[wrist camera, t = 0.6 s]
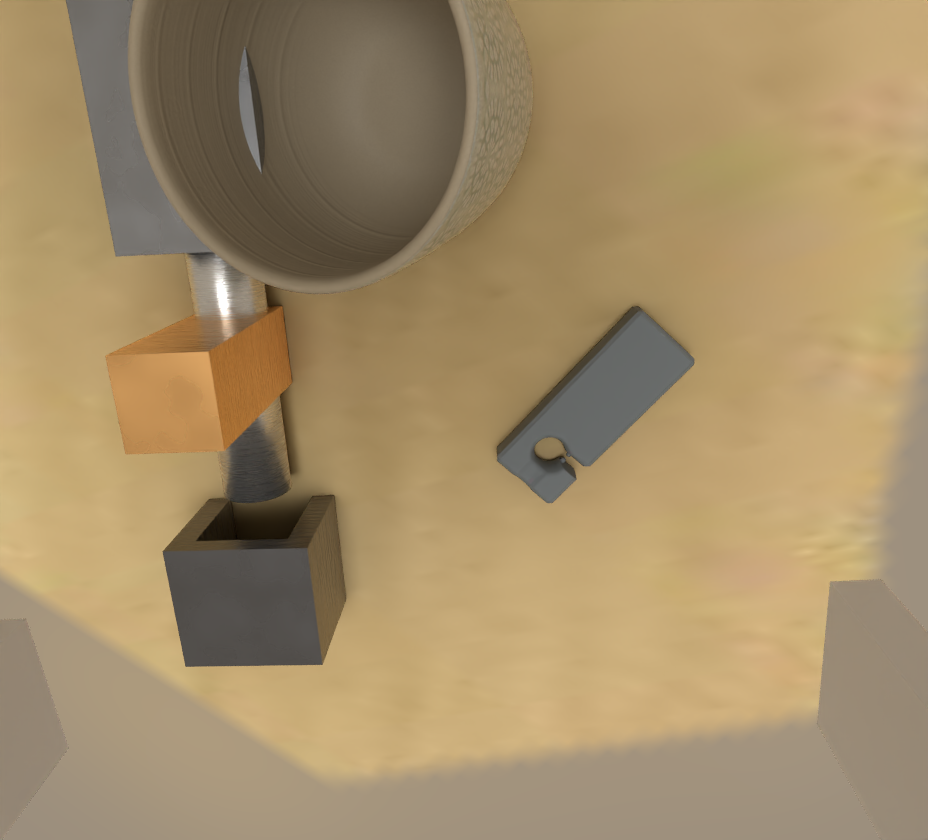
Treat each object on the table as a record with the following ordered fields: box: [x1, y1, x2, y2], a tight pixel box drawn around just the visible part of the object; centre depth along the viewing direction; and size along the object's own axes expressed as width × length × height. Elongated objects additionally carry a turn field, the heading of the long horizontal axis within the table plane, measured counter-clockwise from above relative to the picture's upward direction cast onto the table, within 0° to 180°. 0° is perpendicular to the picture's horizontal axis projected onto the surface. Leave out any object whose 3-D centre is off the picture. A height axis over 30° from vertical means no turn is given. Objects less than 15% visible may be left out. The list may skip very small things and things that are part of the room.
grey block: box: [66, 0, 265, 256], centre depth 33 cm, size 10×7×5 cm
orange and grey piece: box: [105, 252, 292, 503], centre depth 33 cm, size 19×4×10 cm, turn 3°
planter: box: [128, 0, 533, 294], centre depth 28 cm, size 12×12×11 cm
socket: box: [163, 496, 346, 667], centre depth 39 cm, size 6×7×6 cm
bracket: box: [497, 307, 694, 503], centre depth 38 cm, size 4×10×2 cm, turn 139°
